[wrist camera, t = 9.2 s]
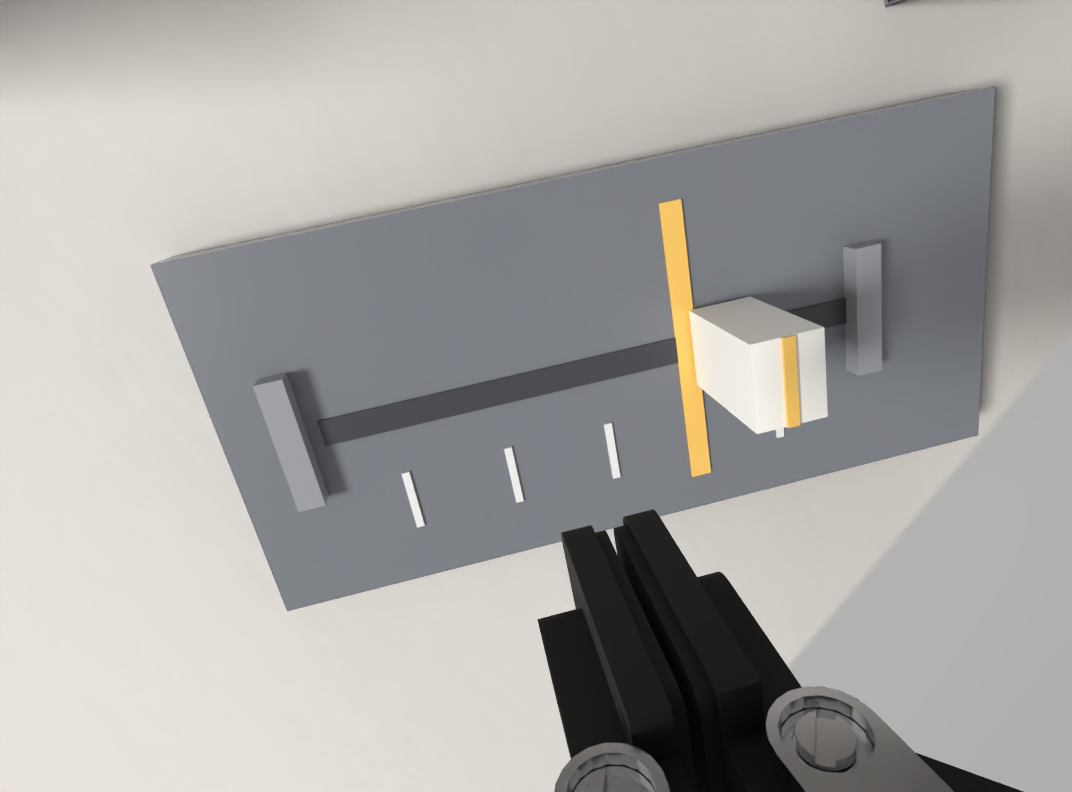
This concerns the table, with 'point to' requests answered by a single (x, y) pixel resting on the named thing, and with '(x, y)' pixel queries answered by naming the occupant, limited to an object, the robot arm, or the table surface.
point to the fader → (760, 363)
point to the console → (586, 342)
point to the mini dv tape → (891, 2)
